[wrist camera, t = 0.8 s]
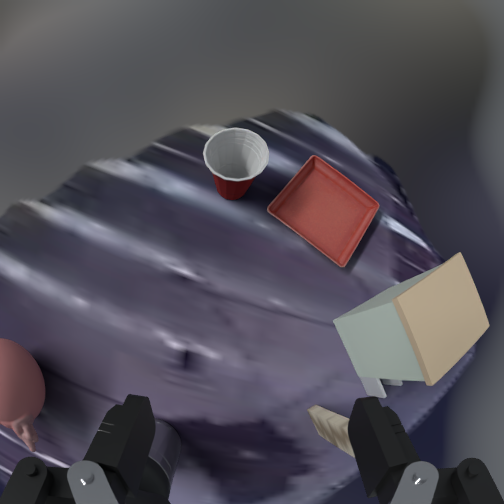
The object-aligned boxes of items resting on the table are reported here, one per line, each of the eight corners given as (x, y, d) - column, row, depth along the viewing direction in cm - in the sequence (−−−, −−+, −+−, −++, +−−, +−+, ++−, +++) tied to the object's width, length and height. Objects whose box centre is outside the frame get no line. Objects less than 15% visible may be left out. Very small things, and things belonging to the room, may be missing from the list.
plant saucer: (336, 273, 55) (344, 269, 52) (262, 216, 57) (265, 209, 54) (373, 211, 62) (381, 204, 58) (308, 162, 63) (313, 153, 60)
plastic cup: (191, 188, 56) (189, 150, 45) (229, 157, 60) (234, 118, 49) (232, 223, 55) (239, 191, 44) (268, 188, 59) (282, 152, 48)
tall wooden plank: (333, 427, 45) (386, 452, 28) (319, 435, 44) (368, 465, 28) (321, 401, 47) (372, 419, 30) (306, 409, 46) (353, 432, 29)
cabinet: (419, 356, 52) (496, 347, 32) (364, 396, 48) (440, 409, 28) (389, 285, 56) (460, 252, 36) (330, 319, 52) (396, 297, 32)
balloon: (31, 447, 34) (-12, 466, 20) (-8, 355, 39) (-56, 350, 24) (84, 430, 39) (45, 453, 24) (40, 330, 43) (-8, 319, 28)
